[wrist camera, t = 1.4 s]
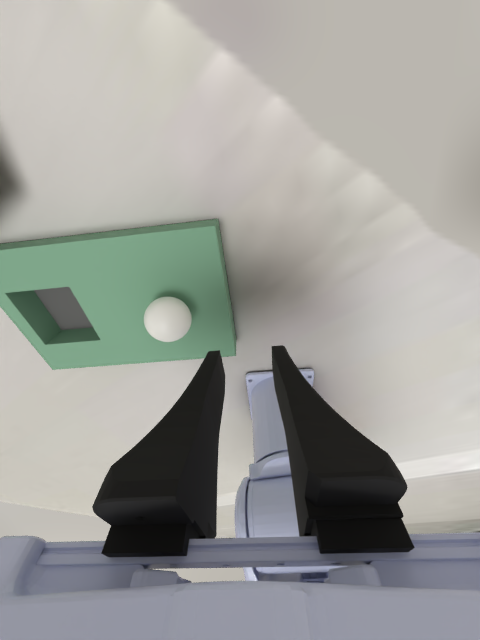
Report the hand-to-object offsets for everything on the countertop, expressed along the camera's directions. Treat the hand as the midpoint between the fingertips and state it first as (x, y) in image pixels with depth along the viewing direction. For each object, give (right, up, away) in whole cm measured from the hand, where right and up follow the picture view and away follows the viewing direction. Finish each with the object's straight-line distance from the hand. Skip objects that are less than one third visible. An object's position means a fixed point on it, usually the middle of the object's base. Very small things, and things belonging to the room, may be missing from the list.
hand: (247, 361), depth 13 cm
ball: (-6, +2, +5) cm, 8 cm away
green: (-11, +4, +8) cm, 14 cm away
